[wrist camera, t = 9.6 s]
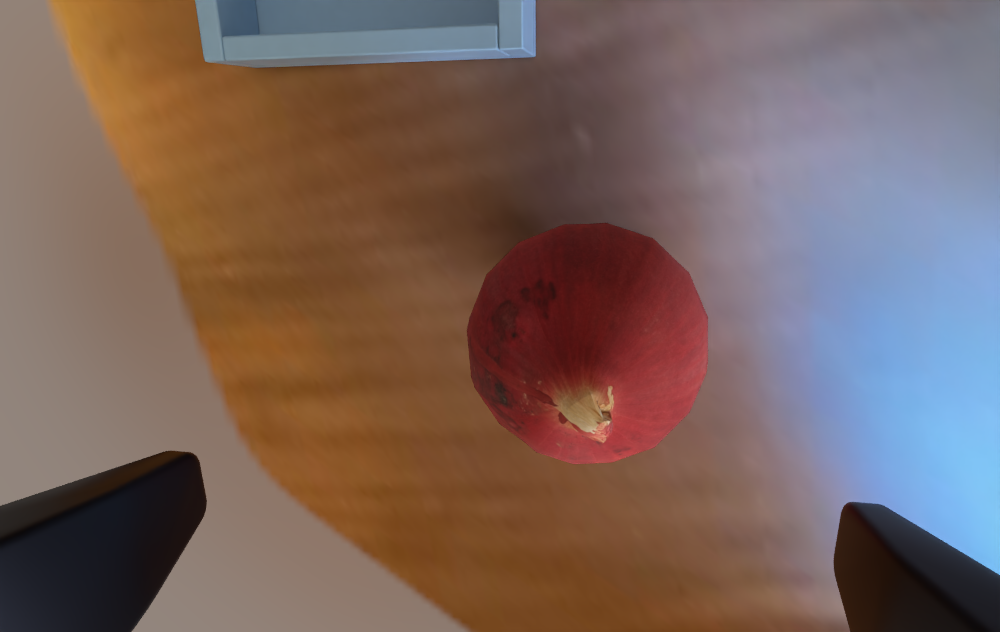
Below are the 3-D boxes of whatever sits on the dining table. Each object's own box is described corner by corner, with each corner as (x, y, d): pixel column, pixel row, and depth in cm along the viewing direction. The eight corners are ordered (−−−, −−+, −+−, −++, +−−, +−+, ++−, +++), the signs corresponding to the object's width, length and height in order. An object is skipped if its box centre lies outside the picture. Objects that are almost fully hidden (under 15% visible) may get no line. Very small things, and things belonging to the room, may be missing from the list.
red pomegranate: (504, 388, 21) (440, 546, 13) (487, 210, 19) (402, 275, 12) (691, 385, 20) (736, 557, 12) (690, 196, 18) (743, 259, 10)
